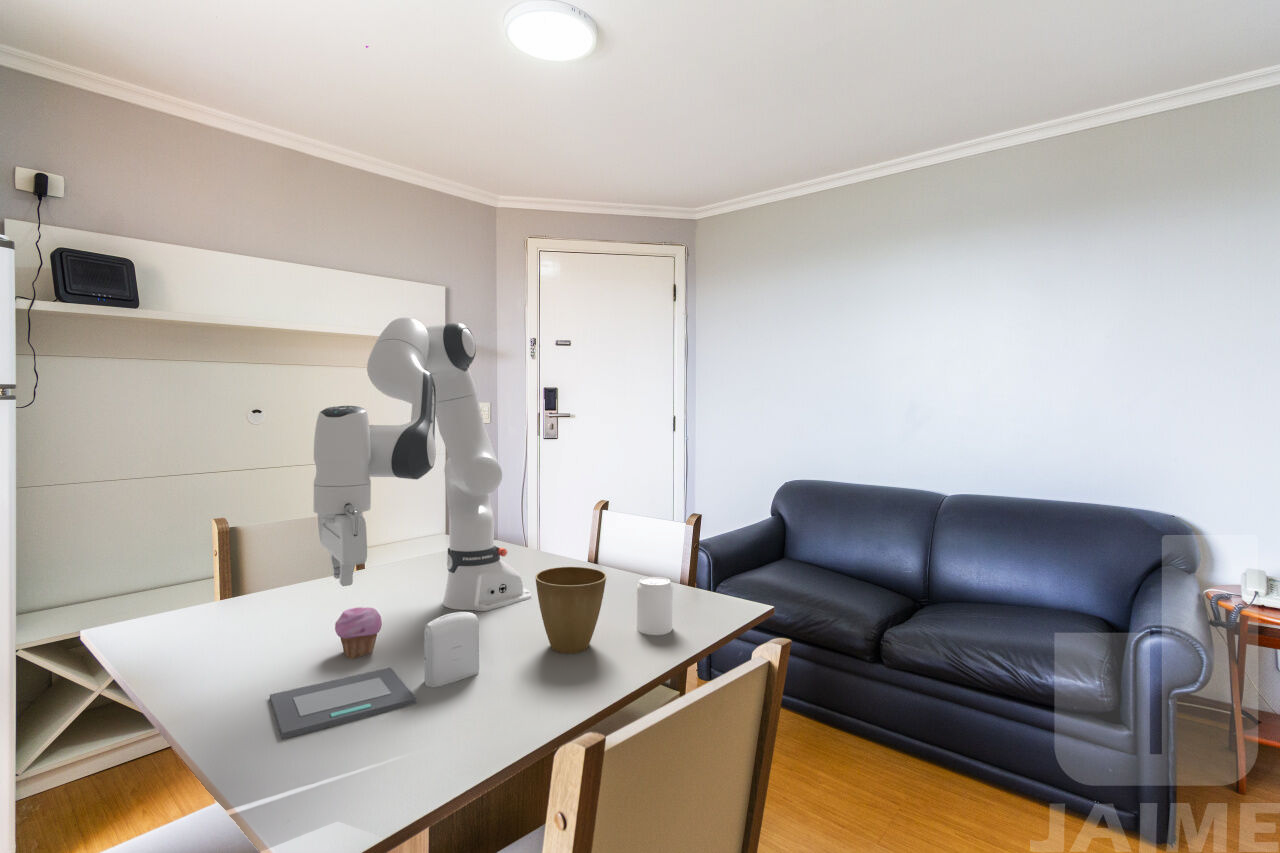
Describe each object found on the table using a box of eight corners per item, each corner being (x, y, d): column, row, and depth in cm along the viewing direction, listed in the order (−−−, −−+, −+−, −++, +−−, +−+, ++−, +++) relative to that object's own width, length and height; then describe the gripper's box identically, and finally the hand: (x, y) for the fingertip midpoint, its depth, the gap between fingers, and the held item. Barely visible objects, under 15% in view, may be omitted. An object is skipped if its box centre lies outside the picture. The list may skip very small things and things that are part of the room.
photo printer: (430, 691, 112) (430, 623, 111) (420, 683, 115) (420, 617, 114) (482, 675, 118) (482, 611, 118) (471, 668, 122) (472, 606, 121)
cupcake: (330, 654, 128) (330, 606, 128) (374, 645, 133) (374, 598, 133) (342, 668, 121) (342, 617, 121) (387, 657, 127) (387, 609, 126)
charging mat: (390, 672, 119) (390, 666, 119) (416, 703, 107) (416, 697, 107) (269, 700, 107) (269, 693, 107) (282, 739, 95) (282, 731, 95)
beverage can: (679, 632, 143) (679, 580, 143) (655, 641, 137) (656, 587, 137) (652, 624, 148) (653, 574, 148) (629, 632, 142) (629, 580, 142)
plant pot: (521, 657, 128) (521, 579, 127) (556, 633, 141) (557, 563, 141) (586, 668, 122) (587, 587, 122) (616, 643, 136) (617, 570, 136)
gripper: (377, 506, 100) (377, 592, 100) (349, 493, 116) (349, 566, 117) (334, 510, 96) (334, 598, 96) (311, 495, 113) (311, 571, 113)
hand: (342, 581), depth 107 cm, fingers open, 4 cm apart
